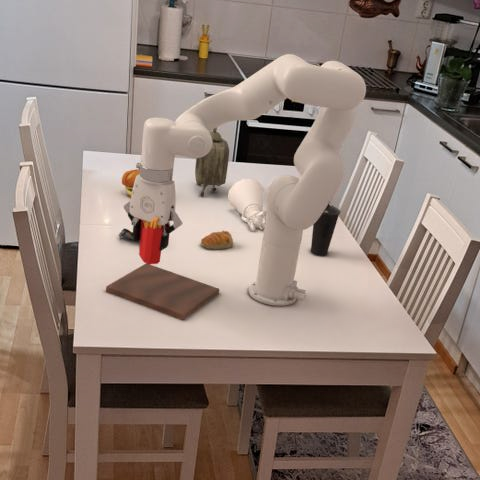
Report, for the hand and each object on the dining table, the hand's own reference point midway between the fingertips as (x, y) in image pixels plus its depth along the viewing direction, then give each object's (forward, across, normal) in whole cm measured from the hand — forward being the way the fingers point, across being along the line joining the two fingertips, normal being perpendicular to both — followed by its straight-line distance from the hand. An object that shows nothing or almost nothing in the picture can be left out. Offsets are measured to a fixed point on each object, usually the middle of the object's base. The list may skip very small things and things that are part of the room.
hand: (150, 244), depth 193 cm
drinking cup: (+14, +24, +56) cm, 63 cm away
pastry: (+14, -1, +40) cm, 42 cm away
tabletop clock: (+14, -25, +78) cm, 83 cm away
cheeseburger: (+14, -39, +56) cm, 70 cm away
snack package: (+14, -19, +28) cm, 36 cm away
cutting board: (+14, +3, +4) cm, 14 cm away
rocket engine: (+14, -4, +64) cm, 65 cm away
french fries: (+4, 0, 0) cm, 4 cm away
